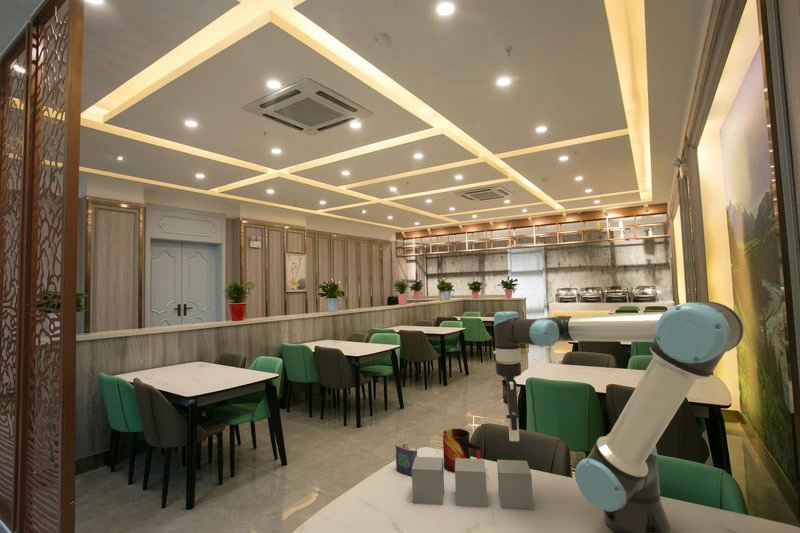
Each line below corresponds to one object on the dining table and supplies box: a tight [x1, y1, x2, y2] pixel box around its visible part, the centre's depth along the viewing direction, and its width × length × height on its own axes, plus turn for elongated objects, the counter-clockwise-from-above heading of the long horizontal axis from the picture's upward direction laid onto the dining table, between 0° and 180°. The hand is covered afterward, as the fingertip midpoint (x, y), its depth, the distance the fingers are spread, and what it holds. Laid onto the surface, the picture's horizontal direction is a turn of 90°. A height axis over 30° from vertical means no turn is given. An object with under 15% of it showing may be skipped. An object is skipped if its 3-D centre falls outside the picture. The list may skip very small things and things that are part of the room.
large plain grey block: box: [411, 456, 445, 506], centre depth 122 cm, size 9×9×10 cm
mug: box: [442, 428, 482, 474], centre depth 141 cm, size 10×14×12 cm
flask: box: [395, 441, 418, 477], centre depth 138 cm, size 9×3×11 cm, turn 50°
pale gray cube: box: [454, 458, 488, 508], centre depth 120 cm, size 9×9×10 cm
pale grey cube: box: [496, 459, 534, 511], centre depth 118 cm, size 9×9×10 cm
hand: (511, 432), depth 119 cm, fingers open, 13 cm apart
